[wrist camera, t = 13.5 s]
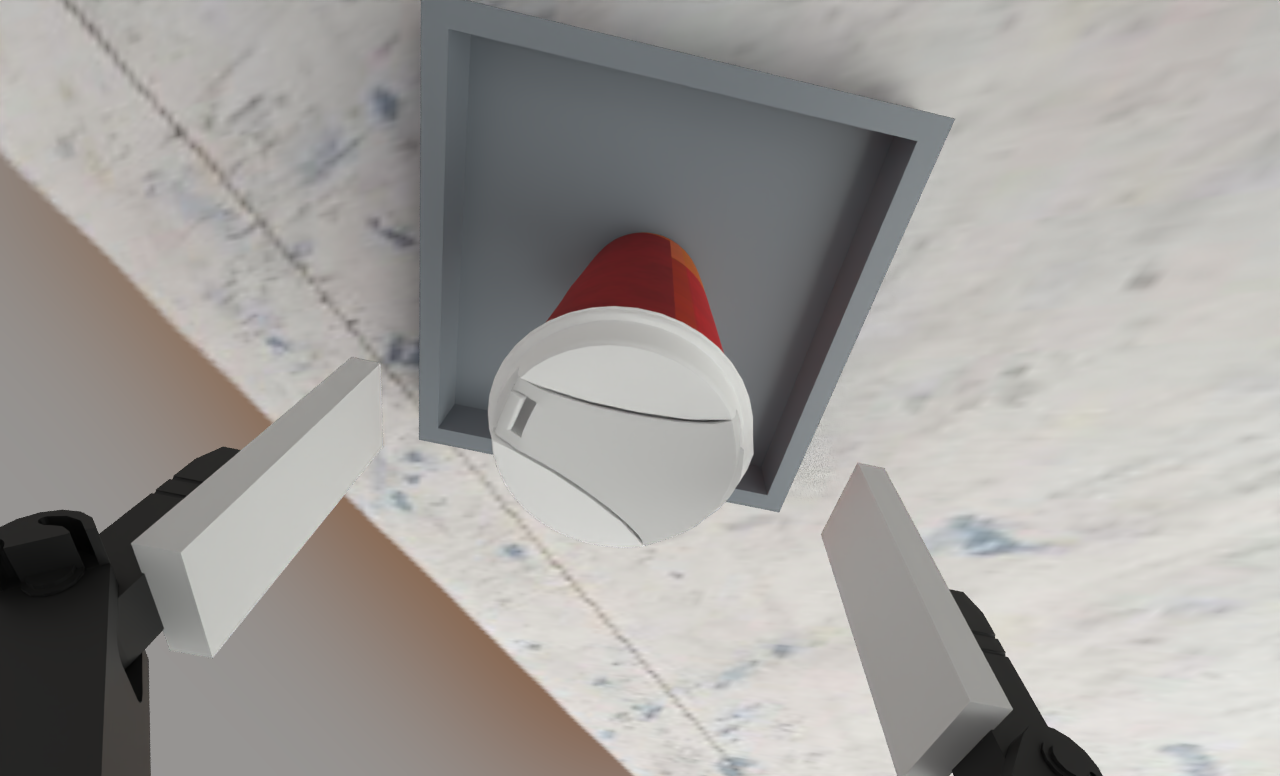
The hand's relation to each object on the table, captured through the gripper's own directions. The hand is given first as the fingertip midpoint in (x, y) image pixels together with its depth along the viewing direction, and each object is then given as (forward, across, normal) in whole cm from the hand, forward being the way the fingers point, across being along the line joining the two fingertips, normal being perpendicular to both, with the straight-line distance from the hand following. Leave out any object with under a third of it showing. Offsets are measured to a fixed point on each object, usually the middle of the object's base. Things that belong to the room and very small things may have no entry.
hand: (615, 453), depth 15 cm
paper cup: (+14, 0, 0) cm, 14 cm away
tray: (+15, 0, 0) cm, 15 cm away
